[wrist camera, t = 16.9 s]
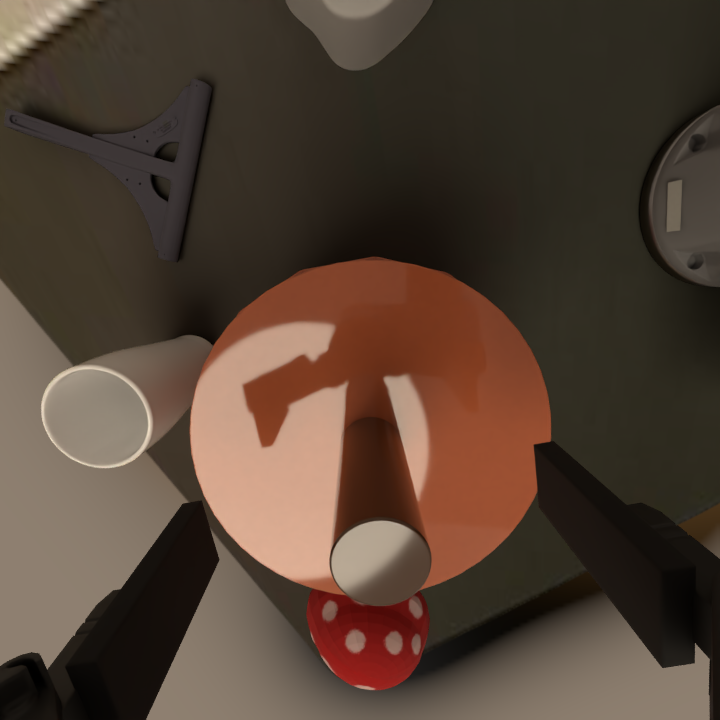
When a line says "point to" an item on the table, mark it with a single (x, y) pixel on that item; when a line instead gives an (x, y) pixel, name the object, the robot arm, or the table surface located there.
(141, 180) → the bracket
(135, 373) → the drinking glass
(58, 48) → the table surface
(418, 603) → the decorative mushroom
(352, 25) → the lumpy-topped squat cylinder
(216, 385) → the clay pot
